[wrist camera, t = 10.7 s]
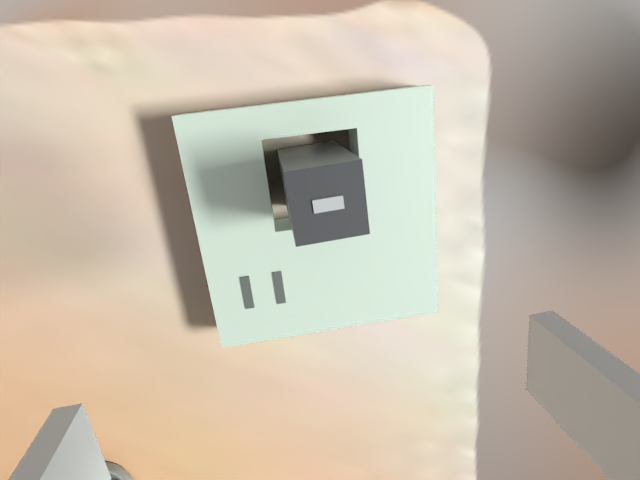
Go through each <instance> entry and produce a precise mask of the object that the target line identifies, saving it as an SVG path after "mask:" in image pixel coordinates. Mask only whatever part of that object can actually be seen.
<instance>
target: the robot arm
mask: <svg viewBox="0 0 640 480" xmlns="http://www.w3.org/2000/svg"><path fill="white" fill-rule="evenodd" d="M528 332H529V333H528V358H527V359H528V360H527V383H526V390H527V391H528V392H529V393H530V394H531V395H532V396H533V397H534V398H535V400H536V401H537V402H538V403H539V404H540V405H541V406H542V407H543V408H544V409H545V410H546V412H547V413H548V414H549V415H550V416H551V417H552V418H553V419H554V420H555V421H556V422H557V423H558V424H559V426H560V427H561V428H562V429H563V430H564V431H565V432H566V433H567V434H568V435H569V436H570V437H571V439H572V440H573V441H574V442H575V443H576V444H577V445H578V446H579V447H580V449H581V450H582V451H583V452H584V453H585V454H586V455H587V456H588V457H589V458H590V459H591V460H592V461H593V462H594V464H595V465H596V466H597V467H598V468H599V469H600V470H601V471H602V472H603V474H604V475H605V476H606V477H607V478H608V479H609V480H640V374H639V373H638V372H636V371H635V370H633V369H632V368H631V367H629V366H628V365H627V364H625V363H624V362H622V361H621V360H620V359H619V358H617V357H616V356H614V355H613V354H612V353H610V352H609V351H607V350H606V349H605V348H603V347H602V346H600V345H599V344H598V343H596V342H595V341H594V340H592V339H591V338H590V337H588V336H587V335H586V334H584V333H583V332H581V331H580V330H579V329H577V328H576V327H574V326H573V325H572V324H570V323H569V322H568V321H566V320H565V319H564V318H562V317H561V316H559V315H558V314H557V313H555V312H554V311H548V312H543V313H538V314H533V315H529V331H528ZM9 480H111V476H110V473H109V471H108V468H107V466H106V463H105V460H104V458H103V455H102V453H101V450H100V448H99V445H98V442H97V440H96V437H95V435H94V432H93V430H92V427H91V424H90V422H89V419H88V417H87V414H86V412H85V409H84V406H83V404H82V403H81V404H76V405H71V406H66V407H61V408H56V409H53V410H52V412H51V414H50V415H49V417H48V418H47V420H46V421H45V423H44V425H43V426H42V428H41V429H40V431H39V432H38V434H37V436H36V437H35V439H34V440H33V442H32V443H31V445H30V447H29V448H28V450H27V451H26V453H25V455H24V456H23V458H22V459H21V461H20V462H19V464H18V466H17V467H16V469H15V470H14V472H13V473H12V475H11V477H10V478H9Z"/></svg>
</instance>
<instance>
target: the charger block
mask: <svg viewBox="0 0 640 480" xmlns="http://www.w3.org/2000/svg"><path fill="white" fill-rule="evenodd" d="M277 153H278V158H279V164H280V170H281V176H282V182H283V188H284V194H285V200H286V206H287V210H288V214H289V219H290V223H291V228H292V232H293V236H294V241H295V245H296V247H298V246H304V245H310V244H316V243H321V242H327V241H333V240H339V239H344V238H350V237H356V236H361V235H367V234H370V230H369V220H368V210H367V201H366V191H365V181H364V172H363V162H362V159H361V158H359V157H358V156H356V155H355V154H353V153H352V152H350V151H349V150H347V149H346V148H344V147H343V146H341V145H340V144H338V143H337V142H335V141H328V142H322V143H315V144H309V145H303V146H296V147H290V148H283V149H277Z"/></svg>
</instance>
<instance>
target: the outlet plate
mask: <svg viewBox="0 0 640 480" xmlns="http://www.w3.org/2000/svg"><path fill="white" fill-rule="evenodd" d="M171 117H172V122H173V126H174V131H175V135H176V140H177V145H178V149H179V154H180V158H181V163H182V168H183V172H184V177H185V182H186V186H187V191H188V195H189V200H190V205H191V209H192V214H193V218H194V223H195V228H196V232H197V237H198V242H199V246H200V251H201V255H202V260H203V265H204V269H205V274H206V279H207V283H208V288H209V292H210V297H211V302H212V306H213V311H214V315H215V320H216V325H217V329H218V334H219V339H220V343H221V348H225V347H231V346H237V345H243V344H249V343H255V342H261V341H267V340H273V339H279V338H285V337H292V336H298V335H304V334H310V333H316V332H322V331H328V330H334V329H340V328H346V327H352V326H358V325H364V324H370V323H376V322H383V321H389V320H395V319H401V318H407V317H413V316H419V315H425V314H431V313H437V312H438V294H437V244H436V195H435V145H434V96H433V85H425V86H411V87H403V88H394V89H386V90H378V91H369V92H361V93H352V94H344V95H335V96H327V97H318V98H310V99H302V100H293V101H285V102H276V103H268V104H259V105H251V106H242V107H234V108H226V109H217V110H209V111H200V112H192V113H183V114H178V115H174V116H171ZM345 129H348V131H349V143H350V152H352V153H353V154H355V155H356V156H358V157H359V158H361V159H362V162H363V172H364V181H365V191H366V201H367V210H368V220H369V230H370V234H367V235H361V236H356V237H350V238H344V239H339V240H333V241H327V242H321V243H316V244H310V245H304V246H298V247H296V245H295V241H294V236H293V232H292V228H291V223H290V219H289V218H282V219H275V220H274V216H273V209H272V203H271V196H270V190H269V183H268V176H267V170H266V163H265V157H264V150H263V143H262V140H265V139H273V138H281V137H289V136H297V135H305V134H313V133H321V132H329V131H337V130H345Z"/></svg>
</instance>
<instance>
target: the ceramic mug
mask: <svg viewBox="0 0 640 480" xmlns="http://www.w3.org/2000/svg"><path fill="white" fill-rule="evenodd" d="M105 463H106V466H107V468H108V471H109V473H110V476H111V477H112V478H115V479H118V480H132V478H131V476H130V474H129V473H128V472H127V471H126V470H125V469H124V468H122V467H121V466H119V465H117V464H115V463H111V462H105Z"/></svg>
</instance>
